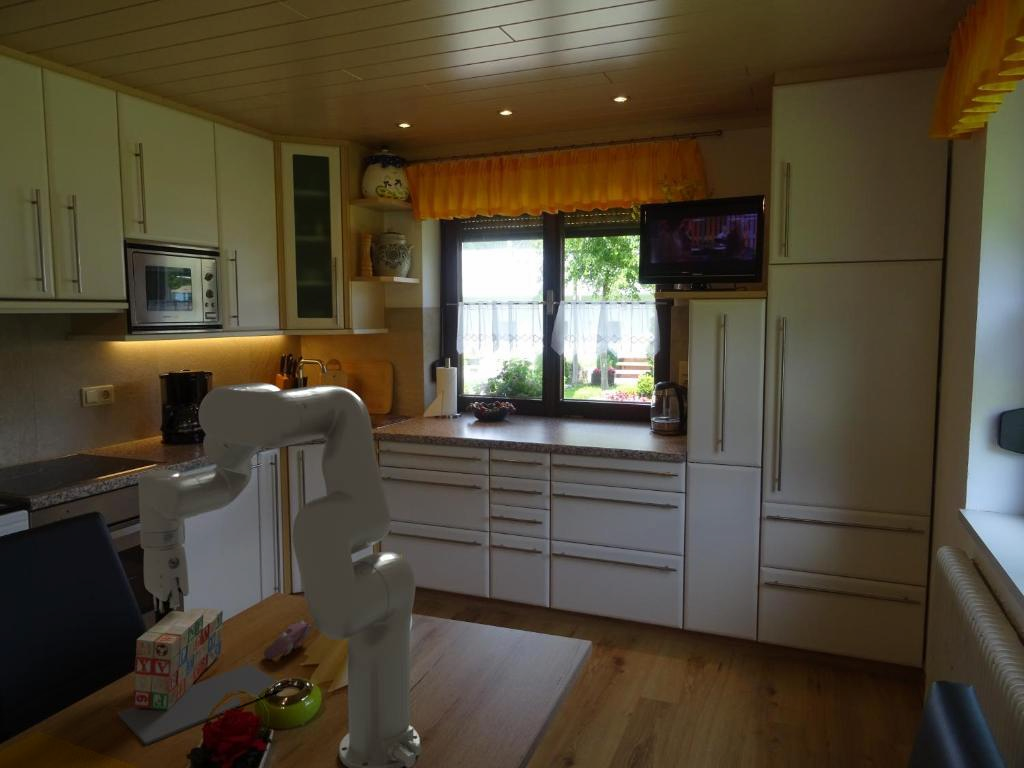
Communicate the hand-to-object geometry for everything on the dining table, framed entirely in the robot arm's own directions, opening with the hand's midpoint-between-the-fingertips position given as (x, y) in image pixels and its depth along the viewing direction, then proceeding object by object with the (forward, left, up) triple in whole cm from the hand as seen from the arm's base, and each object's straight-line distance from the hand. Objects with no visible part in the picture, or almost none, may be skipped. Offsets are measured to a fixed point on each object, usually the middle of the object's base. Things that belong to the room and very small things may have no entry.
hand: (166, 629), depth 138 cm
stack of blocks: (-6, 0, -8) cm, 10 cm away
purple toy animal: (-9, -21, -9) cm, 24 cm away
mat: (-15, 0, -9) cm, 18 cm away
